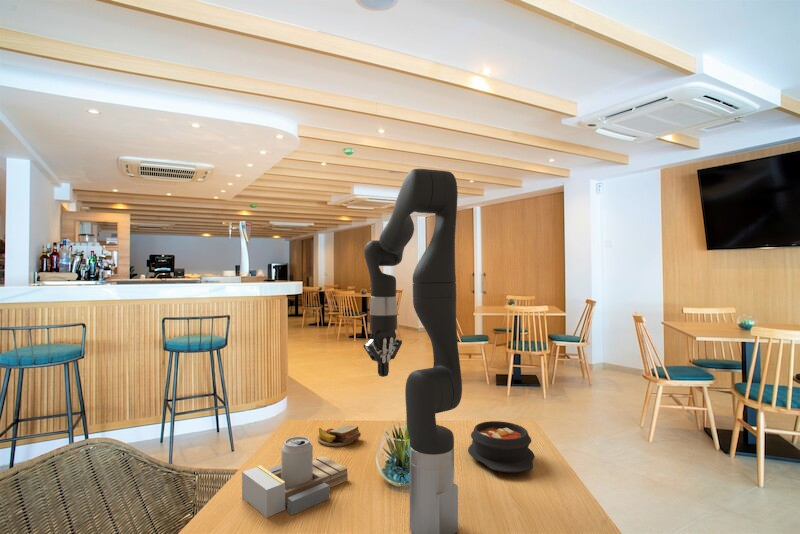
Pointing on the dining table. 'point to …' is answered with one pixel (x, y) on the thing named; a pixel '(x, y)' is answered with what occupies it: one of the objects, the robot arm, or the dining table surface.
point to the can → (296, 461)
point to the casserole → (502, 446)
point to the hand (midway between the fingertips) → (383, 375)
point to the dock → (277, 492)
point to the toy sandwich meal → (339, 435)
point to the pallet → (320, 476)
